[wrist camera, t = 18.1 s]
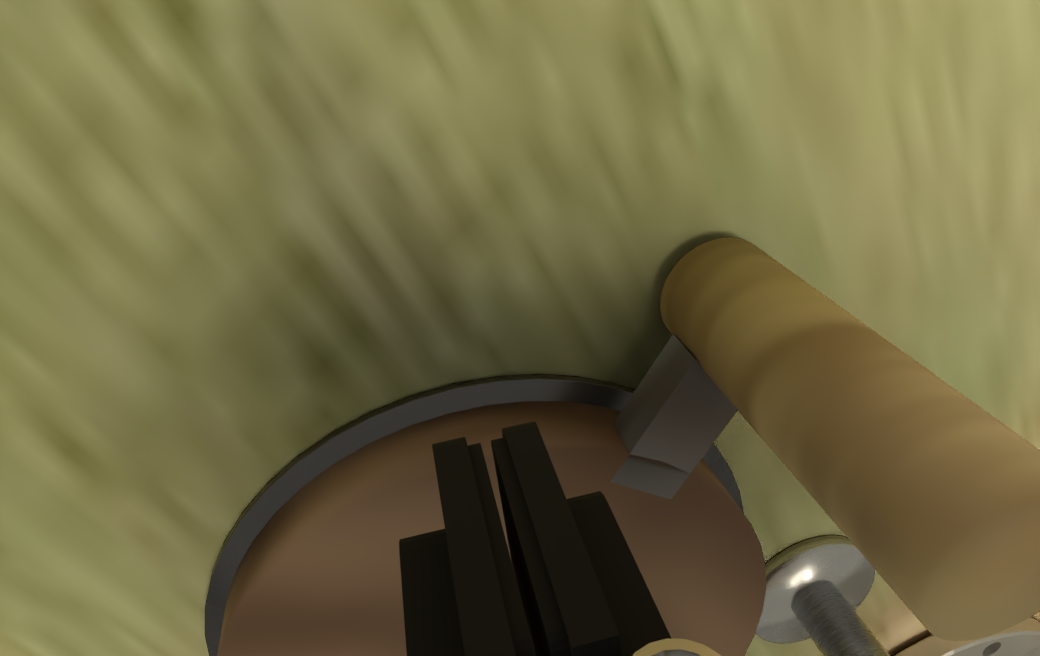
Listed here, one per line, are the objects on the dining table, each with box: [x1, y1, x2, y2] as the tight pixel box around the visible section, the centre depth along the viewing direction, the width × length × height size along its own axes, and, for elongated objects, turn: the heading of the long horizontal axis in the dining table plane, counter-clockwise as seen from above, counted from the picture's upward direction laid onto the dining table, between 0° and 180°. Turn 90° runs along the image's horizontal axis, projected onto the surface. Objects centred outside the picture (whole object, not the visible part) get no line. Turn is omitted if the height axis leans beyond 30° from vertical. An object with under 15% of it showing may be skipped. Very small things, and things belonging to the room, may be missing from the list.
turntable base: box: [205, 374, 744, 656], centre depth 22 cm, size 17×17×1 cm
